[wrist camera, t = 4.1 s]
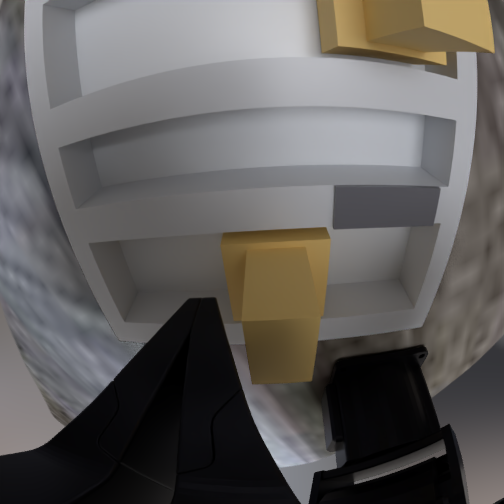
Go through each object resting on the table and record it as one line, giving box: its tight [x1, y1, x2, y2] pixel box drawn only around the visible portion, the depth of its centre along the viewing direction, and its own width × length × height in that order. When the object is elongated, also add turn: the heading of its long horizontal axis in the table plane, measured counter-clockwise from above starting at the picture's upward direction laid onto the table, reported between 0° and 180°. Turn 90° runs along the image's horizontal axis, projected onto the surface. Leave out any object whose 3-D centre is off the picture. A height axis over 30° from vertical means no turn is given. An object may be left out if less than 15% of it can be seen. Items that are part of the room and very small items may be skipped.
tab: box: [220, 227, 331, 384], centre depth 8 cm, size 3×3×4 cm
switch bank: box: [24, 0, 477, 345], centre depth 8 cm, size 14×16×3 cm
